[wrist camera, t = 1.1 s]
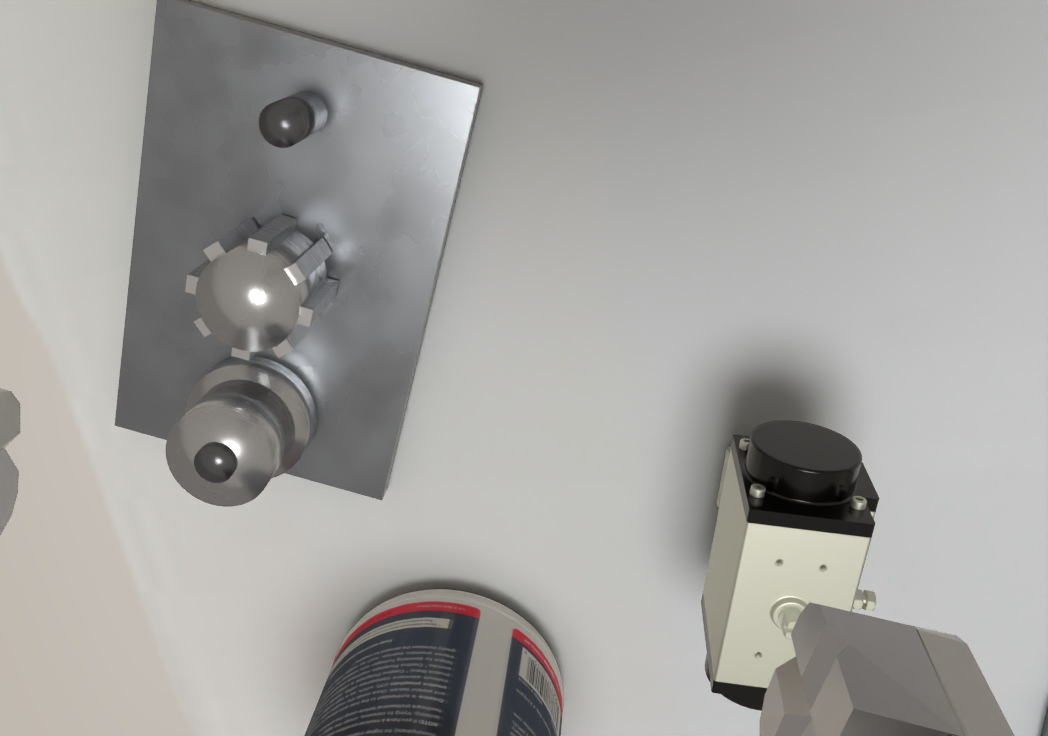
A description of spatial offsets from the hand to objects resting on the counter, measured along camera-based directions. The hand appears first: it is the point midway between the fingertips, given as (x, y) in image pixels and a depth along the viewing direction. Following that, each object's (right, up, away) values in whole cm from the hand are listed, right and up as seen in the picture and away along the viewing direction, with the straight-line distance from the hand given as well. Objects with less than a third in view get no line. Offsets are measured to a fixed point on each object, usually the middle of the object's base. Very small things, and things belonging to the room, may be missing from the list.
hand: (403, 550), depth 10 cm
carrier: (-10, +7, +36) cm, 38 cm away
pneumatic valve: (+13, -3, +38) cm, 41 cm away
